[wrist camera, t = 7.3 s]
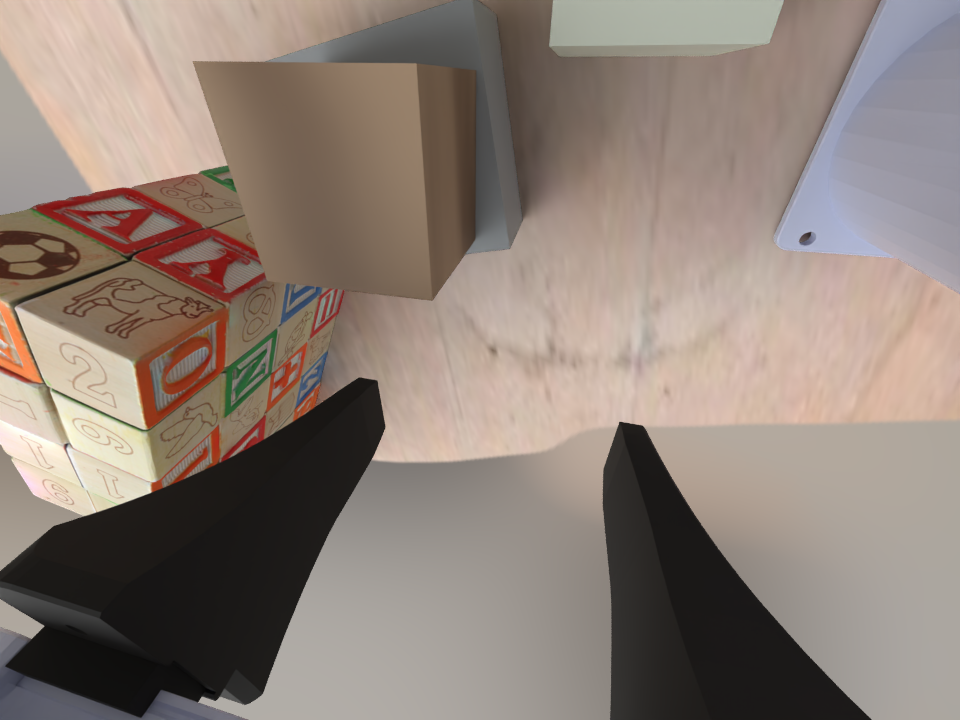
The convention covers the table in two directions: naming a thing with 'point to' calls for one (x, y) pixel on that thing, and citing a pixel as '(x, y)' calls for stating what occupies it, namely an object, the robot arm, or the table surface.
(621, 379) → the table surface
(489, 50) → the slate block
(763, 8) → the sage block
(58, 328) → the stack of blocks
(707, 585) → the robot arm
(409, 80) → the walnut block
